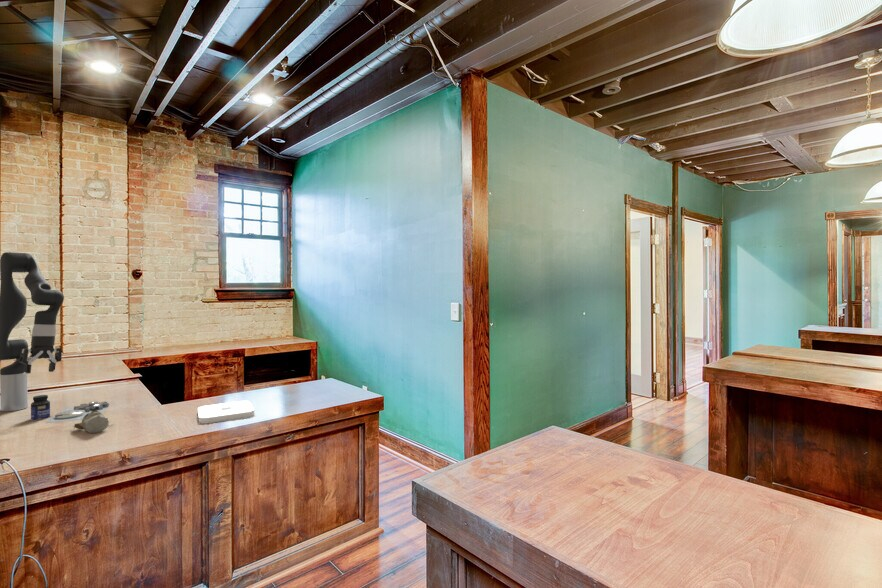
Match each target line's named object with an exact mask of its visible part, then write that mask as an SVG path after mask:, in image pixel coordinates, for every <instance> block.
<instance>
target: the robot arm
mask: <svg viewBox="0 0 882 588" xmlns="http://www.w3.org/2000/svg"><path fill="white" fill-rule="evenodd" d="M13 273H23V274H24V273H27V274H26V276H25V278H24V281H23V282H24V285H25V286H26V288H27V289H28V291H29V292H30V296H31V297H30V299H31V302H32V303H33V304H34V305H38V306H48V308H47V309H45V310H39V311H36V312H35V313H34V322H33V327H32V331H31V341H30V349H29V343H28V342H27V340H26V339H23V338H20V339H9V337H10V334H11V333H12V331H13V329H14V328H15V327H16V326H17V325H18V324H19V323H20V322H21V321H22V320H23V318H24V317H26V316H25V315H26V313H27V306H28V305H27V303H28V300H27V298H26V296H25V295H24V294H23V292H22V291H21V290H20V289H19V288H18V286H17V284H16V283H15V281H14V278H13ZM64 301H65V296H64V293H63V292H62V291H61V290H57V289H52V287H51V285H50V283H49V282H48V281H47V280H46V279H45V277H44V275H43V274H42V272H41V269H40V267H39V265H38V262H37V260H36V259H35V257H34V256H33V254H30V253H27V252H11V251H10V252H7V251H6V252H3V253H2V254H1V256H0V361H8V360H15V361H14V362H12V363H11V364H8V365H7V366H3V367H2V368H0V411H1V412H15V411H20V410H24V409H26V408H28V407H29V403H28V402H29V401H28V400H29V399H28V398H29V397H28V396H29V395H28V394H29V393H28V391H29V390H28V388H29V387H28V374H31V372H32V364H33V362H34V361H36V360H37V359H38V360H39V359H46V360H48V362H49V365H48V372H49V373H50V372H51V373H52V372H55V370H56V367H57V366H56V364H57V363H58V362H62V356H63V352H62V351H63V350H62V349H63V348H61V347H55V348H54V346H55V341H56V333H57V332H56V331H57V329H56V328H57V327H56V326H57V325H56V324H57V316H58V313H59V311H60V309H61V307H62V306H63V305H62V304H63V303H64ZM53 353H54V355H53ZM29 354H30V355H29Z"/></svg>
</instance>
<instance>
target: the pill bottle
mask: <svg viewBox="0 0 882 588" xmlns="http://www.w3.org/2000/svg"><path fill="white" fill-rule="evenodd" d="M48 398H49V396H48V394H41V395H40V394H39V395H35V396H33V397H32V401H33V402H32V403H31V404H30V420H31V421H40V420H41V421H42V420H46V419H49V418H51V401H50V400H48Z"/></svg>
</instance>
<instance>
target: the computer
mask: <svg viewBox="0 0 882 588" xmlns="http://www.w3.org/2000/svg"><path fill="white" fill-rule="evenodd" d="M254 415H255V408H254V406H253V404H252V402H250V401H249V400H239V401H230V402H224V403H215V404H208V405H202V406H198V408H197V417H198V418H197V420H198V423H199V424H209V423H217V422H223V421H231V420H237V419H243V418H250V417H253V416H254Z"/></svg>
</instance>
